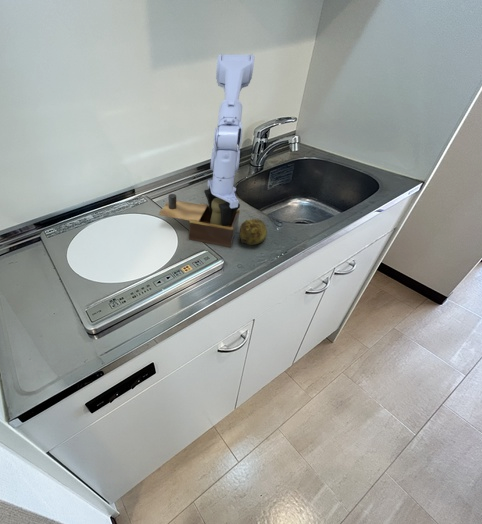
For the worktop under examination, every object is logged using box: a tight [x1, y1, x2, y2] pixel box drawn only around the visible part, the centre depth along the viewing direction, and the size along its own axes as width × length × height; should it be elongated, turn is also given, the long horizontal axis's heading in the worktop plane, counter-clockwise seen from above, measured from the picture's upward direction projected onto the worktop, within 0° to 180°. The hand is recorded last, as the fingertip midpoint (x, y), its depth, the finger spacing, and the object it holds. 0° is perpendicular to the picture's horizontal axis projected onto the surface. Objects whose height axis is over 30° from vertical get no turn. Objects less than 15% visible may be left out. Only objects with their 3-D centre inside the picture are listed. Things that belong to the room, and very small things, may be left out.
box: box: [188, 203, 241, 248], centre depth 85 cm, size 11×13×6 cm
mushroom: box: [210, 198, 227, 227], centre depth 82 cm, size 6×6×11 cm
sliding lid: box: [158, 193, 208, 222], centre depth 84 cm, size 9×13×5 cm
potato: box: [239, 218, 268, 246], centre depth 81 cm, size 8×13×8 cm, turn 132°
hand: (219, 218), depth 83 cm, fingers open, 7 cm apart
